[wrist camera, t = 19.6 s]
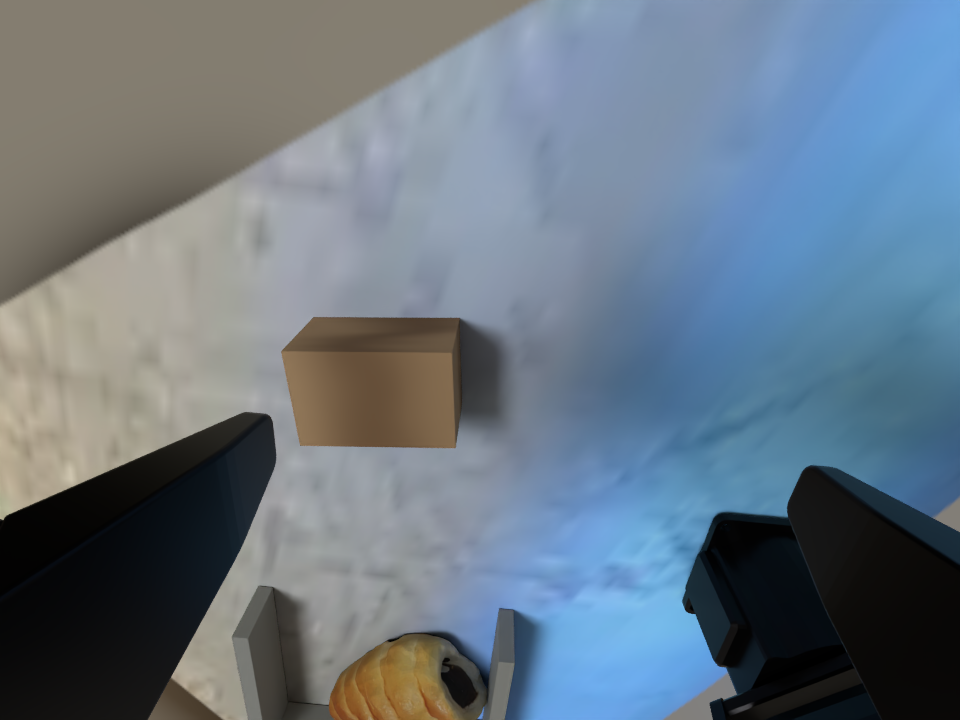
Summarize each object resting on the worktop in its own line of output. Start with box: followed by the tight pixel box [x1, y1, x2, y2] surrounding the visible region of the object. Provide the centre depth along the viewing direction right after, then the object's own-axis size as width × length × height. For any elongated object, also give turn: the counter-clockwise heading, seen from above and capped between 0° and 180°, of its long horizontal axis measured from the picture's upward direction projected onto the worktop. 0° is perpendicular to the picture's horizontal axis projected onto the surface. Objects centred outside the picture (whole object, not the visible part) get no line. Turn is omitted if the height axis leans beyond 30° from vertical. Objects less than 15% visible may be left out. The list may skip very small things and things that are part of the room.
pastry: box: [329, 633, 487, 720], centre depth 29 cm, size 9×7×4 cm
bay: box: [232, 586, 515, 720], centre depth 29 cm, size 14×11×3 cm
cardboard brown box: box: [281, 317, 462, 448], centre depth 20 cm, size 6×4×4 cm, turn 90°
